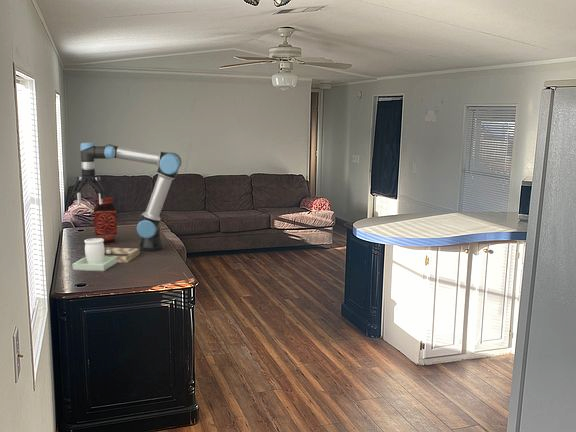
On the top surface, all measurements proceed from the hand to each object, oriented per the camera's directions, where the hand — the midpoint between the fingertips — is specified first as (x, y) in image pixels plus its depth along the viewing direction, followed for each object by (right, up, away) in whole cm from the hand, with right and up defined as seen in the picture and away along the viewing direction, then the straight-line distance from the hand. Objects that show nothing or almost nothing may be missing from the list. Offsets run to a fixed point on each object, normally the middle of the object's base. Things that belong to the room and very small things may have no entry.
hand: (90, 203), depth 346 cm
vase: (-2, -26, +37) cm, 45 cm away
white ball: (+25, -32, +5) cm, 40 cm away
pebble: (+9, -31, +7) cm, 33 cm away
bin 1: (+10, -36, -20) cm, 42 cm away
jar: (+10, -36, -20) cm, 42 cm away
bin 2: (+16, -33, -1) cm, 36 cm away
